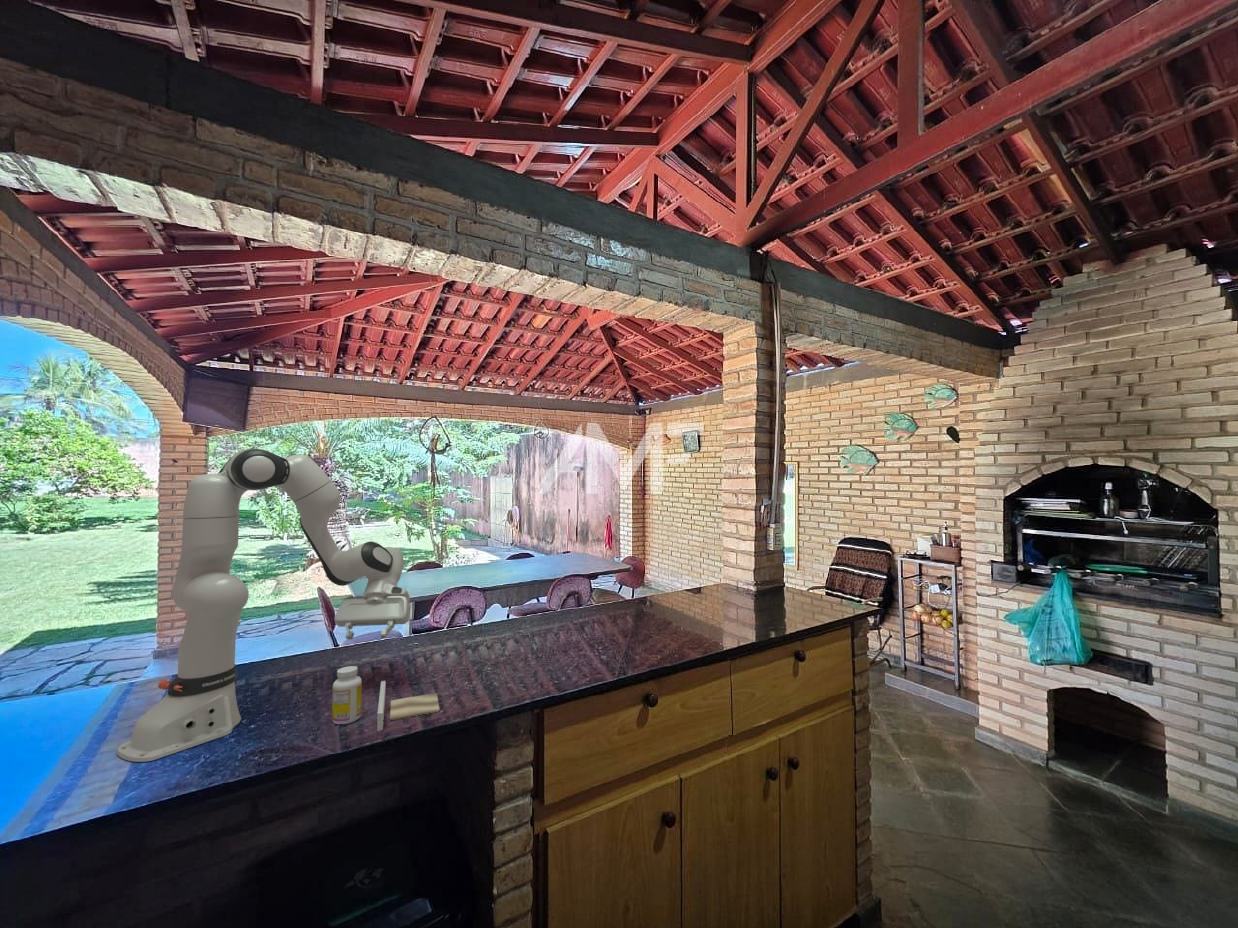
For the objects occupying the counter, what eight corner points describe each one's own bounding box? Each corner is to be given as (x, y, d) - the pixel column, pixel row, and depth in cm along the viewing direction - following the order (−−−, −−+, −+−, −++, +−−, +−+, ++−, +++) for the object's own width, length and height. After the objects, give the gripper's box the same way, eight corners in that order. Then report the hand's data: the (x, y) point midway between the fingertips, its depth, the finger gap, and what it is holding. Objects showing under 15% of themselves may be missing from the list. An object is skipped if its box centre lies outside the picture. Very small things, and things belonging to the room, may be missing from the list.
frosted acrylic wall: (382, 731, 120) (382, 712, 120) (377, 732, 119) (377, 713, 119) (385, 696, 140) (385, 680, 140) (380, 697, 139) (381, 681, 139)
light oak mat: (439, 712, 130) (439, 709, 130) (390, 721, 125) (390, 718, 125) (436, 694, 141) (436, 692, 141) (390, 702, 136) (391, 700, 136)
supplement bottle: (354, 710, 131) (355, 662, 131) (365, 718, 127) (366, 668, 127) (327, 720, 126) (328, 669, 126) (338, 728, 121) (339, 675, 122)
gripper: (340, 590, 146) (323, 633, 136) (411, 588, 148) (400, 630, 138) (346, 602, 150) (331, 644, 140) (415, 600, 152) (405, 641, 142)
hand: (366, 637), depth 139 cm, fingers open, 8 cm apart
